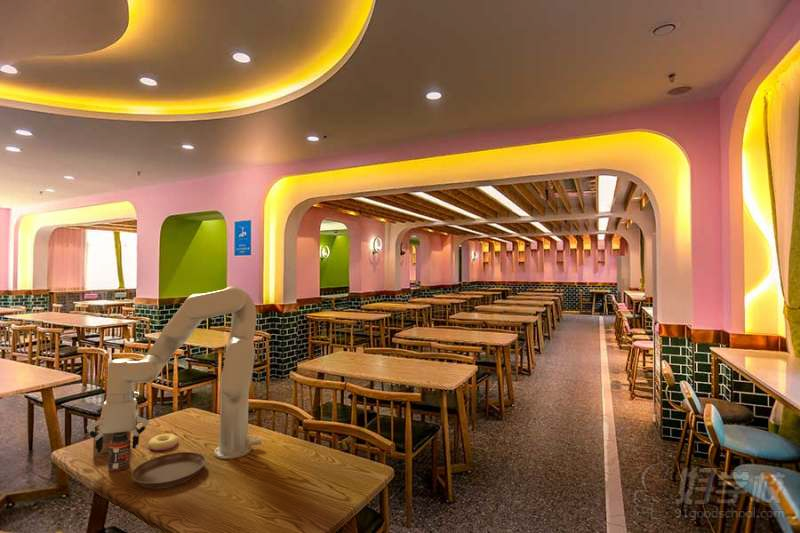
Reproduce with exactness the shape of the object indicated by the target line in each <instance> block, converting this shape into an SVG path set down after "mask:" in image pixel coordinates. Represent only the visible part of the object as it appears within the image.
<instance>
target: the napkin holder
mask: <svg viewBox="0 0 800 533" xmlns="http://www.w3.org/2000/svg"><path fill="white" fill-rule="evenodd" d="M96 431H97V432H98V433H99V426H98V427H97V430H96ZM131 433H132V432H131V431H129V432H127V435H128V436H127V437H128V438H130V439H131V435H132V434H131ZM113 434H115V433H108V434H103V435H102V436H103V448H102V450H101V451H100V452H97V449H96V440H95V438H93V451H92V452H93V454H92V455H93V458H98V457H105V456H106V457H107V456H109V443H110V442H111V441H112V440H113Z"/></svg>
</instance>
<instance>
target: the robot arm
mask: <svg viewBox="0 0 800 533" xmlns="http://www.w3.org/2000/svg"><path fill="white" fill-rule="evenodd" d="M256 308H257V307H256V304H255V302H254V300H253V299H252V297H251V296H250V295H249V294H248V292H246V291H245V290H243V289H242V288H240V287H238V286H235V285H230V286H228V287H227V286H226V288H224V289H219V290H216V291H215V290H214V291H210V292H206V293H193V294H190V295H189V296H188V297H187V298H186V299H185V300H184V302H183V303H182V304H181V306H180V307H179V308H178V309H177V311H176V312H175V313H174V315H172V317H171V318H170V319H169V321H168V322H167V323H166V324H165V326H164V327H163V329H162V330H161V333H160V334H159V336H158V338H157V339H156V341H155V342H154V343H153V345H152V346H151V347H150V349H149V350H148V351H147V352H146V353H145V354H144V356H143V357H142V358H141V359H140V360H137V361H136V360H135V359H133V358H128V357H125V358H115V359H112V360H110V361H109V363H108V366H107V377H106V378H107V381H106V397H105V398H106V399H105V401H104V402H103V405H102V408H101V412H100V419H98V420H96V421H94V422H92V423H90V424H88V425H87V426H86V430H87V432H88V433H89V435H90V437H92V438H93V439H94V438H95V440H96V449H97V452H100V451H101V450H102V448H103V436H102V435H103V434H108V433H119V432H129V431H131V433H132V434H133V437H132V447H131V448H132V449H133V450H134V449H136V447H137V446H138V445H139V443H140V442H139V441H140V434H142V433H143V432H144V431H145V430H146V428H147V426H148V425H149V423H150V420H149V419H147V418H144V417H141V416H139V411H138V410H139V409H138V401H137V398H136V397H139V396H140V392H138V391H135V383H142V384H143V383H151V382H153V381H154V380H156V379H157V378H158V376H159V375H160V373H161V371H162V370H163V369H164V367H165V366H166V365H167V364H168V362H169V361H170V360H171V358H172V357H173V356H174V355H175V353H176V352H177V350H179V348H181V347H182V346H183V345H184V344H186V342H187V341H188V340H189V338H190V337H191V335H193V333H194V332H195V330H197V328H198V327H199V325H200V324H201V323H202V322H203V320H206V319H212V318H215V317H218V316H219V317H220V316H224V315H228V314H231V322H230V323H231V324H230V331H229V335H228V336H229V337H228V341H227V344H226V346H225V355H224V361H223V362H224V363H223V369H222V371H221V375H220V398H219V399H220V403H219V404H220V405H219V436H218V437H219V440H218V441H219V442H218V443H219V444H218V446H217V447H216V448H214V456H215V457H216V458H218V459H220V460H221V459H222V460H234V459H238V458H242V457H244V456H246V455H248V454H250V453H251V451H252V450H251V449H253V448H252V446H254V445H255V446H257V445H261V442H262V441H261V438H257V436H256V437H249V434H248V432H249V426H248V425H249V397H250V396H249V393H250V392H249V388H250V386H251V382H252V376H253V369H254V364H255V356H256V347H255V345H254V340H255V333H256V327H257V326H256V324H257V309H256ZM138 423H140V424H142V425H141V427H140V428H139V427H138ZM97 426H98V427H99V433H98V432H97V430H95V427H97Z"/></svg>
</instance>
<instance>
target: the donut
mask: <svg viewBox="0 0 800 533" xmlns="http://www.w3.org/2000/svg"><path fill="white" fill-rule="evenodd" d="M178 441H179V438H178V436H177V435H175V434H173V433H161V434H158V435H156V436H153V437H152V438H151V439H150V440H149V442H148V447H149V449H151V450H152V451H156V452H159V451H166V450H169V449H172V448H174V447H175V446H176V445H177V444H178Z"/></svg>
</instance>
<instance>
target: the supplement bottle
mask: <svg viewBox="0 0 800 533" xmlns="http://www.w3.org/2000/svg"><path fill="white" fill-rule="evenodd" d="M127 436H128V435H127V432H119V433H115V434H113V440H112V441H111V442H110V443H109V455H108V460H107V462H108V463H107V464H108V465H107V466H108V467H107V469H108V470H109V471H111V472H118V471H119V472H120V471H124V470H126V469H127V468H129V467H130V464H131V443H132V442H131V437H130V438H128V437H127Z"/></svg>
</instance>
